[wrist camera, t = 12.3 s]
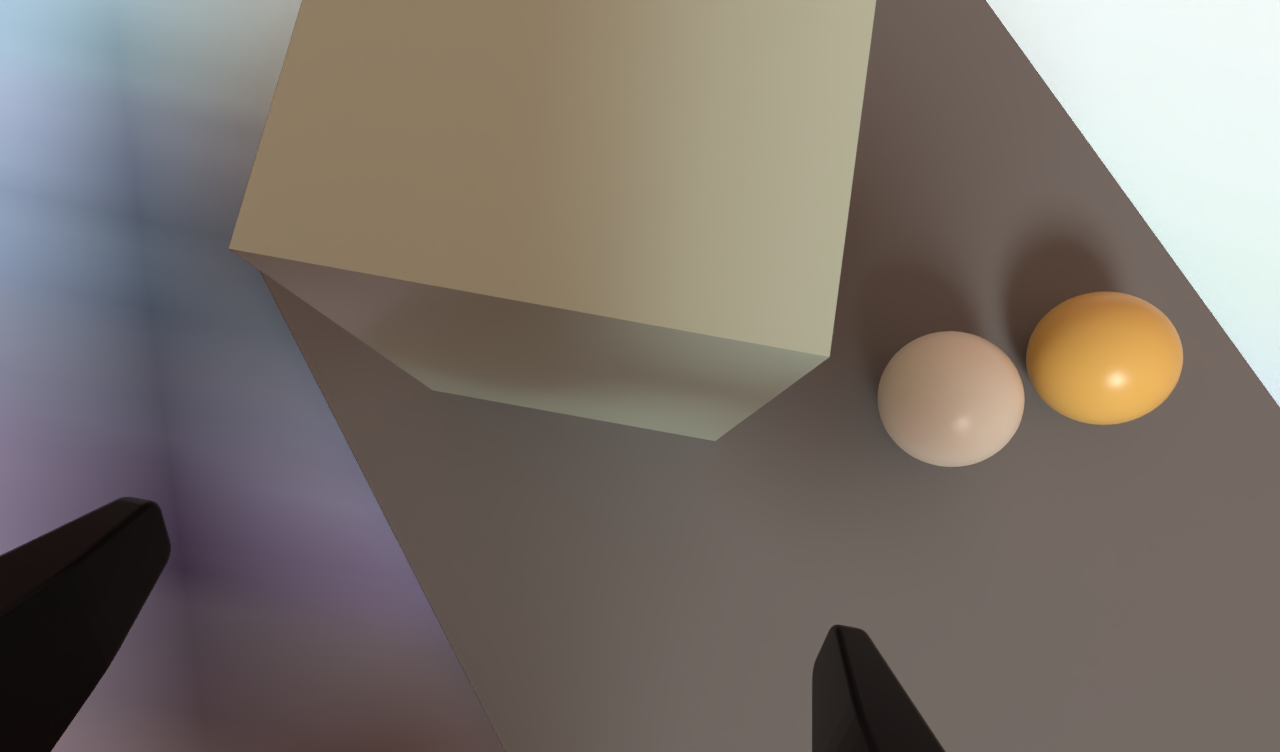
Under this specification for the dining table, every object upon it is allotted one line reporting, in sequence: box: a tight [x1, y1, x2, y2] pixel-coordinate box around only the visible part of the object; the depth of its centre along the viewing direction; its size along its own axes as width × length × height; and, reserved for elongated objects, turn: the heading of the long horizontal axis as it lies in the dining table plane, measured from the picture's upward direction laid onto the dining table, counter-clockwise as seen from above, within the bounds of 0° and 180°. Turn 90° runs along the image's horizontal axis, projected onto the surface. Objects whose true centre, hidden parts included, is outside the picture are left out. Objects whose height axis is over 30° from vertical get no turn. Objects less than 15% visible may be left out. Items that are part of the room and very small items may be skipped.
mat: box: [260, 0, 1280, 752], centre depth 18 cm, size 24×20×1 cm
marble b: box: [1026, 291, 1183, 425], centre depth 17 cm, size 3×3×3 cm
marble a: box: [878, 331, 1025, 467], centre depth 16 cm, size 3×3×3 cm
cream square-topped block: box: [228, 0, 876, 441], centre depth 14 cm, size 7×7×10 cm
